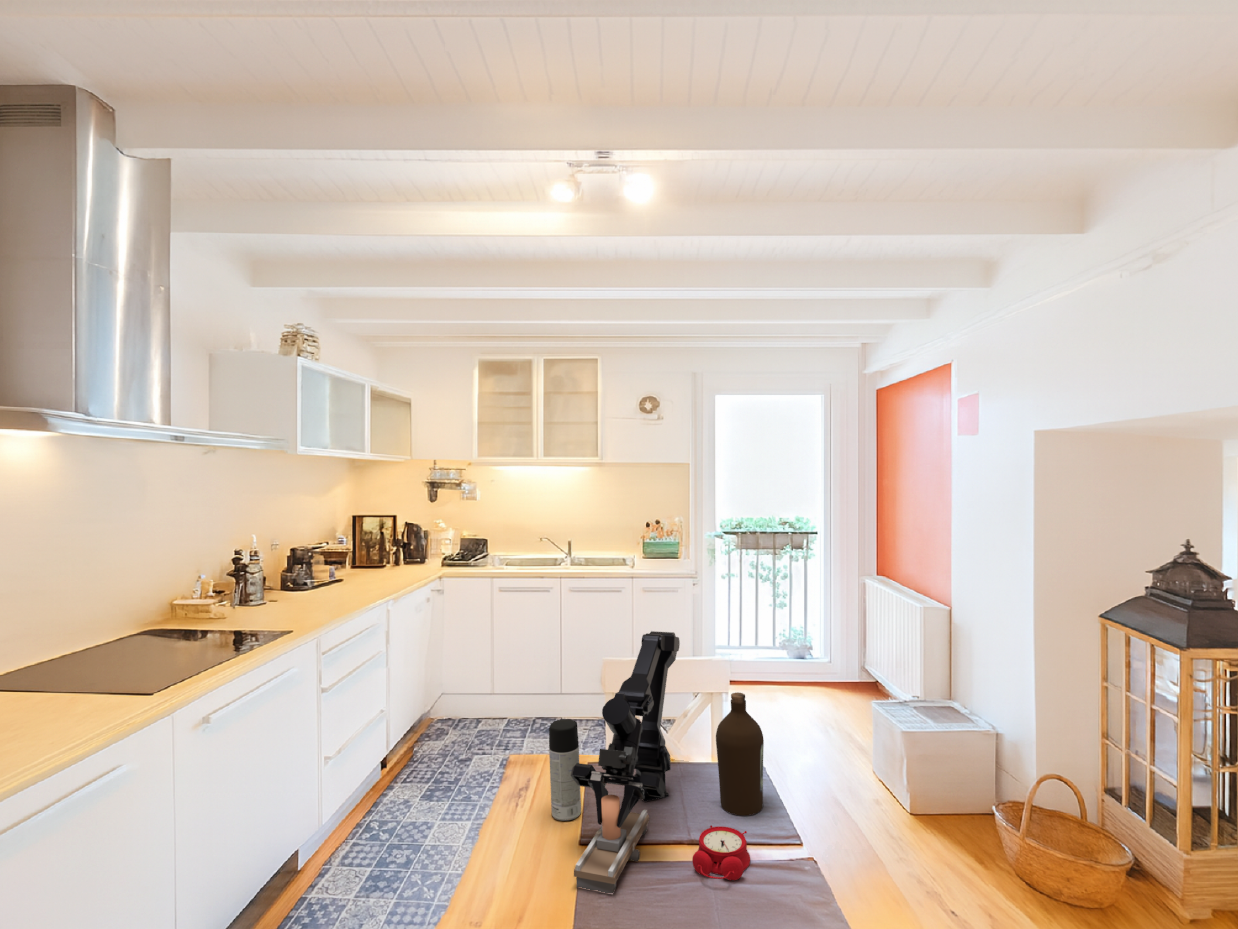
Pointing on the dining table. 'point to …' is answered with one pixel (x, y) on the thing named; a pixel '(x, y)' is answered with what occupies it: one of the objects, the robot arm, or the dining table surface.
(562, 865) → the dining table surface
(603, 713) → the robot arm
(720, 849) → the alarm clock
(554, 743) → the spray can
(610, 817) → the rider
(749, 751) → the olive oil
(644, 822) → the brown piece
